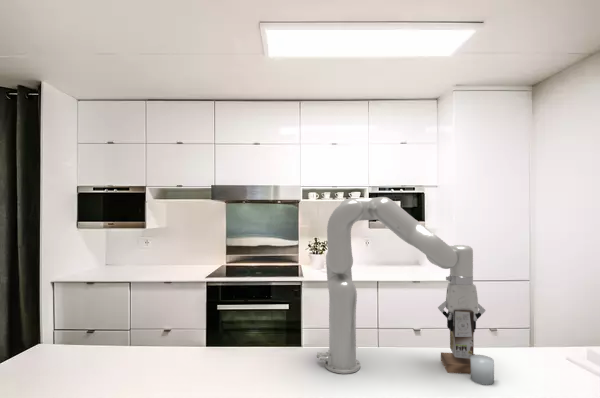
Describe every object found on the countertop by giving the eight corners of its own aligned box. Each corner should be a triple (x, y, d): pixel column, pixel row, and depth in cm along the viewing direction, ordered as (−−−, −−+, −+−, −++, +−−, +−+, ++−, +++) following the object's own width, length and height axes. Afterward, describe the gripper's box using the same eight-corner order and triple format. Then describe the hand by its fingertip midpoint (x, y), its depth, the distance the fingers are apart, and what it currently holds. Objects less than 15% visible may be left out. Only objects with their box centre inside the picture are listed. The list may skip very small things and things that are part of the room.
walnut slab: (447, 372, 130) (447, 363, 130) (440, 360, 140) (440, 352, 140) (484, 374, 129) (484, 365, 129) (474, 362, 138) (474, 354, 139)
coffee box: (474, 359, 129) (474, 312, 129) (454, 357, 131) (454, 310, 131) (468, 349, 138) (468, 304, 138) (449, 347, 139) (449, 303, 140)
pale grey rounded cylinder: (474, 384, 122) (474, 362, 122) (467, 374, 129) (467, 354, 129) (497, 386, 121) (497, 364, 121) (489, 375, 128) (489, 355, 128)
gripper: (438, 281, 132) (438, 333, 132) (491, 283, 130) (491, 335, 130) (433, 277, 139) (433, 326, 139) (483, 278, 137) (483, 328, 137)
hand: (461, 330), depth 134 cm, fingers closed on coffee box, 6 cm apart
